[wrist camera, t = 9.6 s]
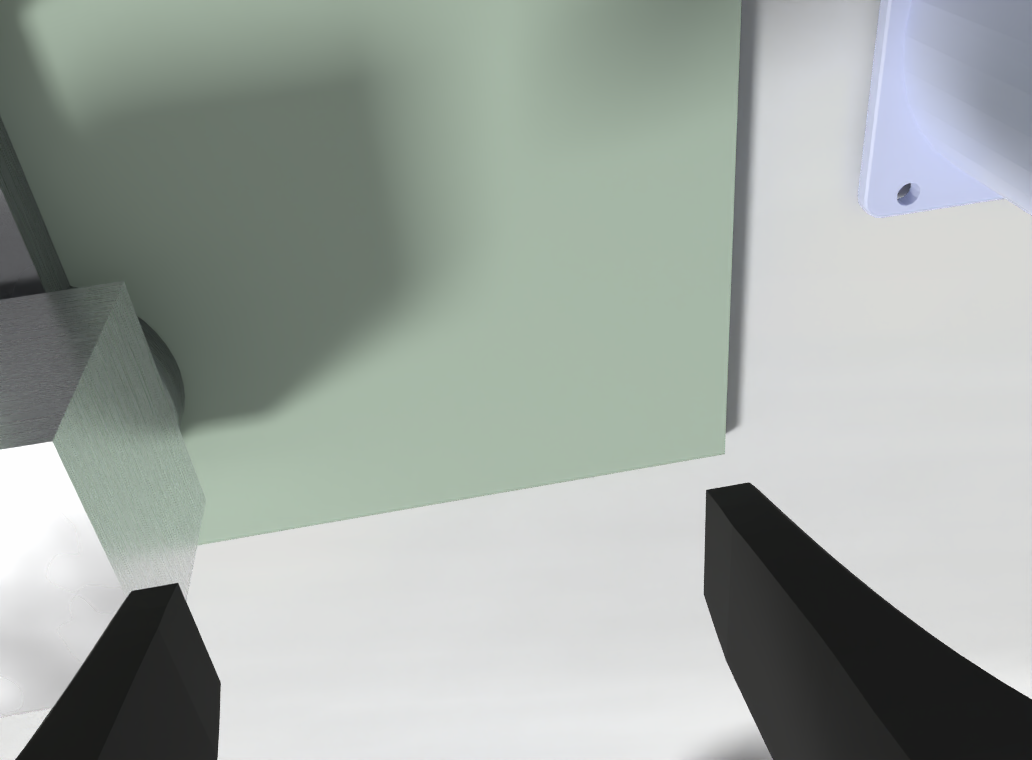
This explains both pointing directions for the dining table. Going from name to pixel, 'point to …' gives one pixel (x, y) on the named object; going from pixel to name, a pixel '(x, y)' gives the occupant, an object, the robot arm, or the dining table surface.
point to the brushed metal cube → (82, 483)
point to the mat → (398, 232)
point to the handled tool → (52, 262)
